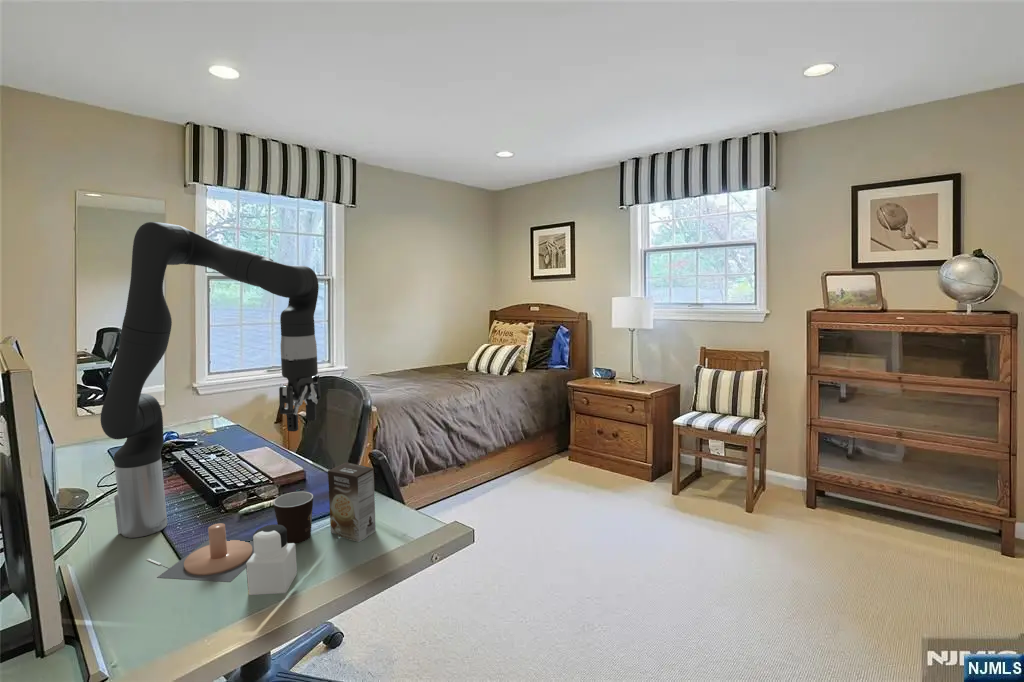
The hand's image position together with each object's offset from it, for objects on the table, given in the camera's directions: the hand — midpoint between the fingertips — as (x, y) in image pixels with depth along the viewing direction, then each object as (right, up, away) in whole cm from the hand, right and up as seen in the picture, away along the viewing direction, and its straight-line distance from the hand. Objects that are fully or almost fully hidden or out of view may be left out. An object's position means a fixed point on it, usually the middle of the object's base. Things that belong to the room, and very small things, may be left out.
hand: (302, 425), depth 121 cm
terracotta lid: (-16, -28, -6) cm, 33 cm away
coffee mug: (-2, -27, +5) cm, 28 cm away
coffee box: (+10, -27, +6) cm, 29 cm away
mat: (-16, -29, -6) cm, 33 cm away
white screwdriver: (-24, -30, -10) cm, 39 cm away
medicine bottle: (0, -30, -15) cm, 33 cm away
